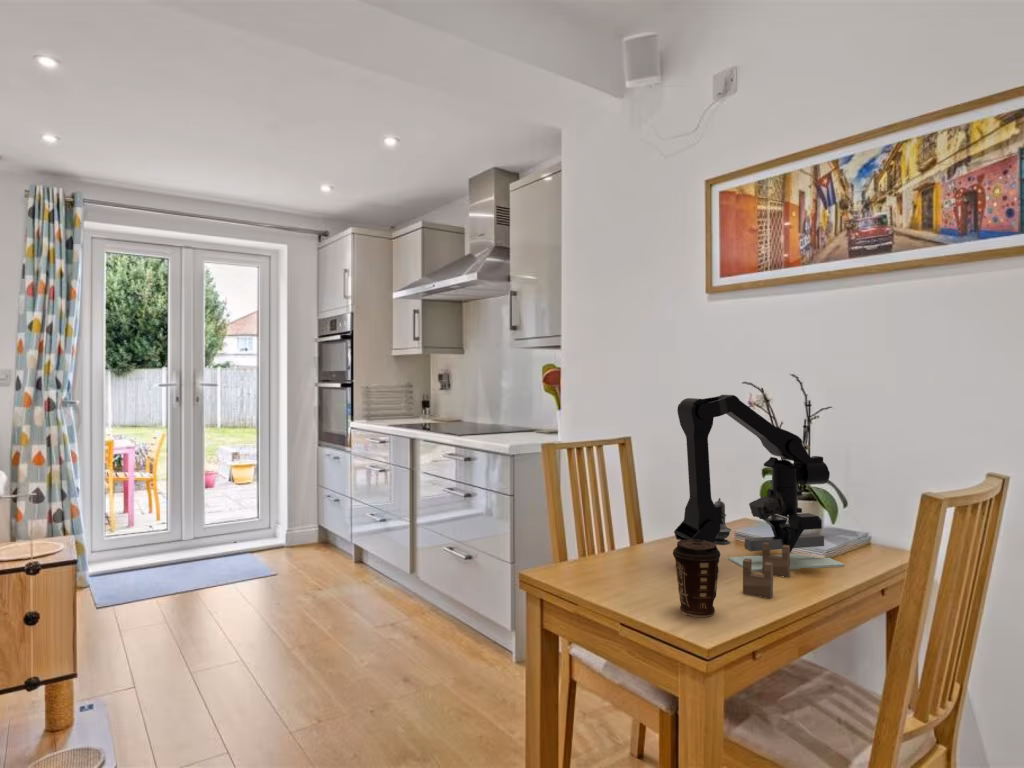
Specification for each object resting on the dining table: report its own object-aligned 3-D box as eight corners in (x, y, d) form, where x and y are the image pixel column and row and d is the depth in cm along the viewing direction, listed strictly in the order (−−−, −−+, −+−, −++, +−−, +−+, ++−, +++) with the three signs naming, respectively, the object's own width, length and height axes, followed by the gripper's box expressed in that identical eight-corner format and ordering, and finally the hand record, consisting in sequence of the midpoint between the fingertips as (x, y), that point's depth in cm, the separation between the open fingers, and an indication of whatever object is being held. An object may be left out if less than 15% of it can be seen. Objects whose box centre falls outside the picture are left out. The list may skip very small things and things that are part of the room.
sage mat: (750, 571, 143) (750, 569, 143) (728, 559, 153) (728, 557, 153) (844, 566, 147) (844, 564, 147) (816, 554, 157) (816, 552, 157)
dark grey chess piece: (727, 539, 172) (727, 496, 172) (733, 545, 166) (733, 500, 166) (706, 539, 173) (706, 495, 172) (710, 544, 167) (710, 499, 167)
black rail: (750, 551, 147) (750, 541, 147) (744, 548, 149) (744, 538, 149) (824, 546, 151) (824, 536, 151) (817, 543, 154) (817, 533, 154)
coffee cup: (698, 600, 125) (698, 535, 125) (730, 614, 118) (730, 545, 117) (664, 608, 121) (664, 541, 121) (696, 623, 113) (696, 551, 113)
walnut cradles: (770, 598, 126) (770, 565, 126) (742, 593, 129) (742, 560, 129) (789, 575, 140) (789, 545, 140) (764, 571, 144) (764, 541, 143)
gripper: (732, 480, 157) (732, 542, 157) (780, 494, 139) (780, 564, 139) (771, 479, 160) (771, 540, 160) (823, 492, 142) (823, 560, 142)
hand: (784, 550), depth 150 cm, fingers closed on black rail, 2 cm apart
